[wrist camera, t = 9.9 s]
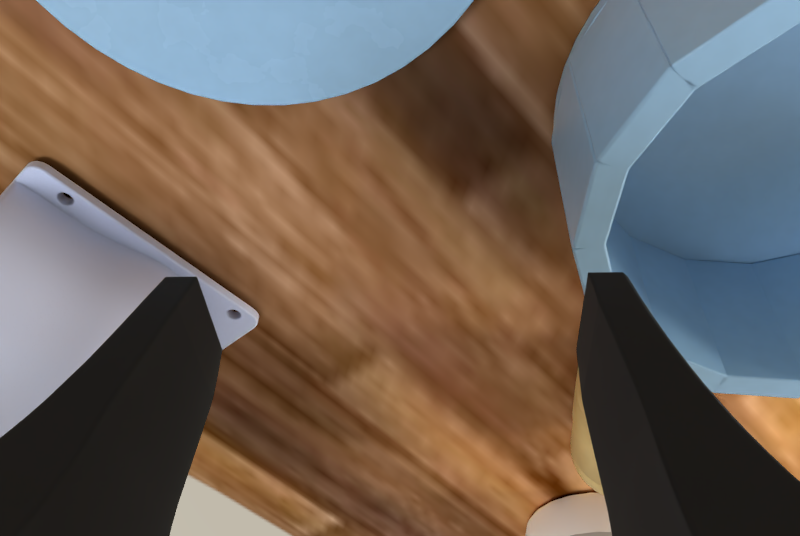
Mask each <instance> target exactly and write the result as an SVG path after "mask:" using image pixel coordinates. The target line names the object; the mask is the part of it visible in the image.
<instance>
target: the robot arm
mask: <svg viewBox="0 0 800 536" xmlns="http://www.w3.org/2000/svg"><path fill="white" fill-rule="evenodd" d="M63 193H66V194H69V195H70V196H71V197H72V198H69V197H66V196H65V195H64V194H63ZM232 310H236V311H238V312H235V311H232ZM258 320H259V314H258V312H257V311H256V310H255V309H254V308H252V307H251V306H249V305H248V304H246V303H245V302H244V301H242V300H241V299H239V298H238V297H236V296H235V295H234V294H232V293H231V292H229V291H228V290H226V289H225V288H224V287H222V286H221V285H219V284H218V283H216V282H215V281H214V280H212V279H211V278H209V277H208V276H206V275H205V274H204V273H202V272H201V271H199V270H198V269H196V268H195V267H194V266H192V265H191V264H189V263H188V262H187V261H185V260H184V259H182V258H181V257H179V256H178V255H177V254H175V253H174V252H172V251H171V250H169V249H168V248H167V247H165V246H164V245H162V244H161V243H159V242H158V241H157V240H155V239H154V238H152V237H151V236H149V235H148V234H147V233H145V232H144V231H142V230H141V229H139V228H138V227H137V226H135V225H134V224H132V223H131V222H129V221H128V220H127V219H125V218H124V217H122V216H121V215H119V214H118V213H117V212H115V211H114V210H112V209H111V208H110V207H108V206H107V205H105V204H104V203H102V202H101V201H100V200H98V199H97V198H95V197H94V196H92V195H91V194H90V193H88V192H87V191H85V190H84V189H82V188H81V187H80V186H78V185H77V184H75V183H74V182H72V181H71V180H70V179H68V178H67V177H65V176H64V175H62V174H61V173H60V172H58V171H57V170H55V169H54V168H52V167H51V166H50V165H48V164H46V163H44V162H40V161H32V162H30V163H28V164H27V165H26V166H25V168H24V169H23V170H22V171H21V172H20V173H19V174H18V176H17V177H16V178H15V179H14V180H13V181H12V182H11V184H10V185H9V186H8V187H7V188H6V189H5V190H4V192H3V193H2V194H1V195H0V536H169V535H170V530H171V526H172V523H173V519H174V516H175V512H176V509H177V505H178V502H179V499H180V496H181V493H182V490H183V487H184V484H185V481H186V478H187V475H188V472H189V469H190V466H191V463H192V461H193V458H194V455H195V452H196V449H197V446H198V443H199V440H200V437H201V434H202V431H203V428H204V425H205V422H206V419H207V416H208V413H209V409H210V406H211V403H212V400H213V396H214V391H215V386H216V382H217V377H218V371H219V365H220V360H221V354H222V350H223V349H225V348H226V347H227V346H229V345H230V344H232V343H233V342H235V341H236V340H238V339H239V338H241V337H242V336H243V335H245V334H246V333H248V332H249V331H251V330H252V329H254V328H255V327H256V326H257V323H258ZM576 350H577V360H578V369H579V379H580V387H581V396H582V402H583V407H584V411H585V416H586V420H587V425H588V429H589V433H590V438H591V442H592V446H593V450H594V455H595V459H596V463H597V468H598V472H599V476H600V480H601V485H602V489H603V493H604V498H605V502H606V506H607V511H608V516H609V521H610V526H611V532H612V536H800V481H799V480H797V479H796V478H795V477H794V476H793V475H792V474H791V473H789V472H788V471H787V470H786V469H785V468H784V467H783V466H782V465H781V464H780V463H779V462H778V461H777V460H776V459H775V458H774V457H773V456H771V455H770V454H769V453H768V452H767V451H766V450H765V449H764V448H763V447H762V446H761V445H760V444H759V443H758V442H757V441H756V440H755V439H754V438H753V437H752V436H751V435H750V434H749V433H748V432H747V431H746V430H745V429H744V428H743V427H742V425H741V424H740V423H739V422H738V421H737V420H736V419H735V418H734V417H733V416H732V415H731V414H730V413H729V411H728V410H727V409H726V408H725V407H724V406H723V405H722V404H721V402H720V401H719V400H718V399H717V398H716V397H715V396H714V394H713V393H712V392H711V391H710V390H709V389H708V387H707V386H706V385H705V384H704V383H703V381H702V380H701V379H700V378H699V377H698V375H697V374H696V373H695V372H694V370H693V369H692V368H691V367H690V365H689V364H688V363H687V361H686V360H685V359H684V357H683V356H682V355H681V354H680V352H679V351H678V350H677V348H676V347H675V346H674V344H673V343H672V342H671V340H670V339H669V338H668V336H667V335H666V334H665V332H664V331H663V329H662V328H661V327H660V325H659V324H658V322H657V321H656V319H655V318H654V316H653V315H652V314H651V312H650V311H649V309H648V308H647V306H646V305H645V303H644V302H643V300H642V298H641V297H640V295H639V294H638V292H637V291H636V289H635V287H634V286H633V284H632V283H631V281H630V279H629V278H628V276H627V275H625V274H624V273H623V272H588V276H587V283H586V289H585V296H584V302H583V309H582V316H581V322H580V329H579V335H578V342H577V349H576Z"/></svg>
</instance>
